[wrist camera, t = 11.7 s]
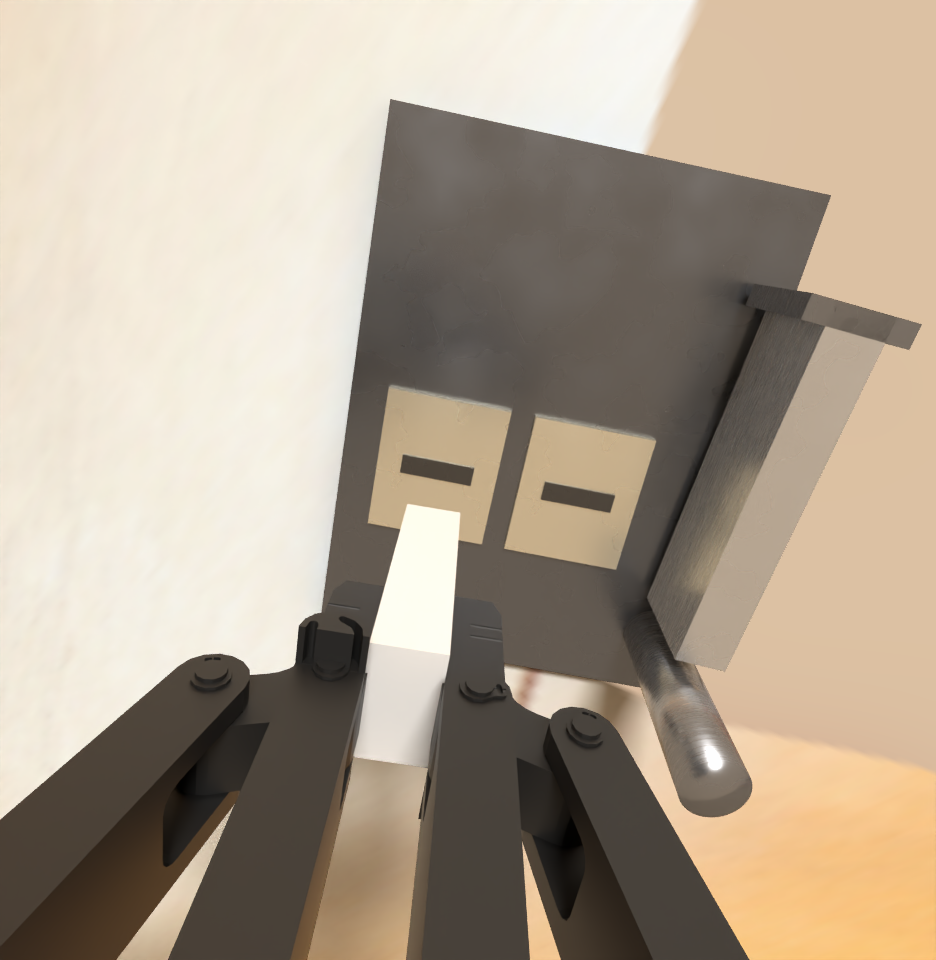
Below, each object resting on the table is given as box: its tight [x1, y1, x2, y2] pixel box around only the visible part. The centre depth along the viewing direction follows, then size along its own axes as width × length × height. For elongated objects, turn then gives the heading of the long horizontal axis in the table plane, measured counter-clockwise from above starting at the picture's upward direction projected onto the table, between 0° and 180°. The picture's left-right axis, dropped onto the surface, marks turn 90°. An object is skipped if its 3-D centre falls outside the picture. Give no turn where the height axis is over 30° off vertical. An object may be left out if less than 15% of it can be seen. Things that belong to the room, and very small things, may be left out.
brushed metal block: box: [647, 284, 921, 672], centre depth 24 cm, size 14×4×4 cm, turn 165°
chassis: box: [322, 99, 831, 817], centre depth 23 cm, size 16×22×10 cm
